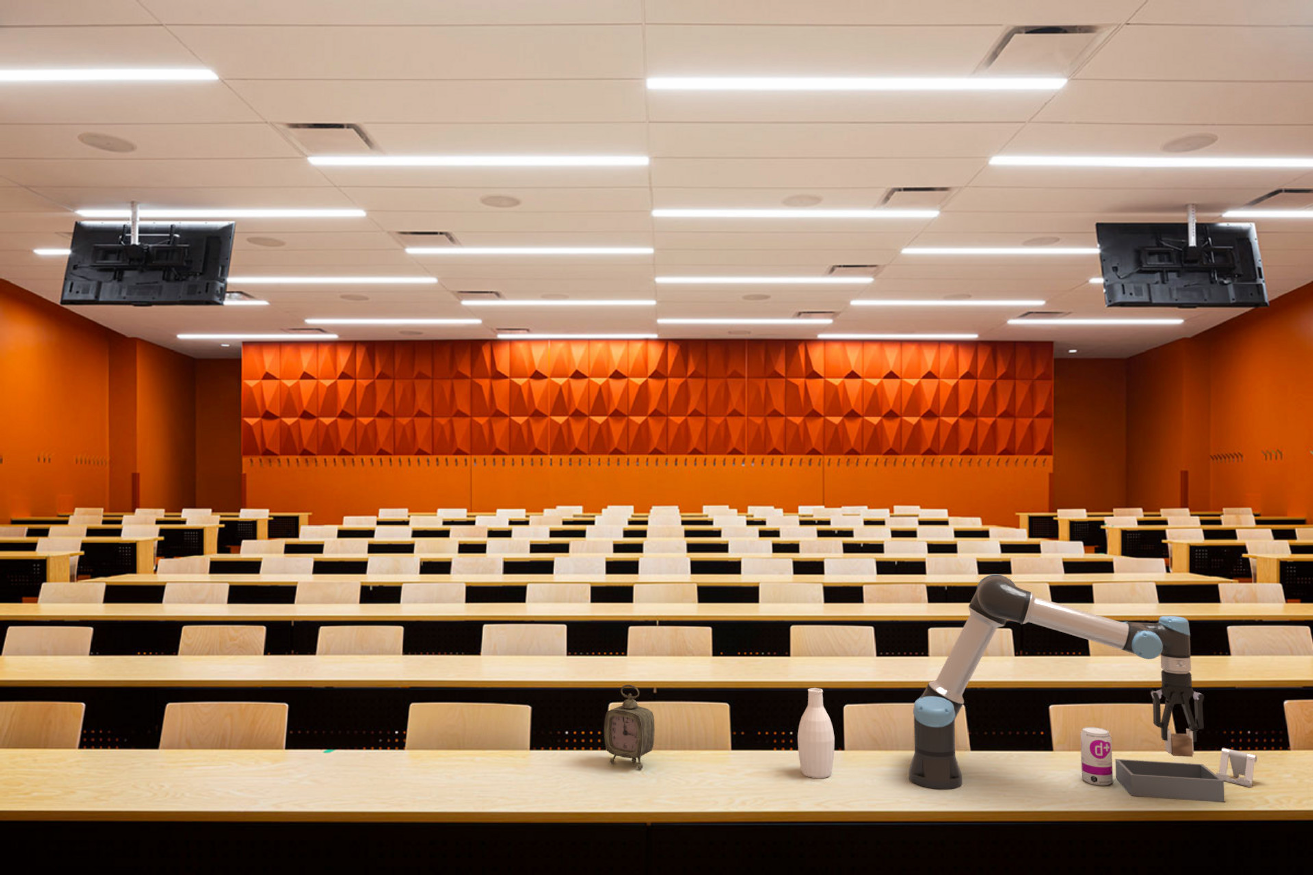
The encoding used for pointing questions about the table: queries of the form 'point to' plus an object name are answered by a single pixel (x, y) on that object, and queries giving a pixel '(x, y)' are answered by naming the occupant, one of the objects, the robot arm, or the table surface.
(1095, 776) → the supplement can
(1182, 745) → the walnut cube
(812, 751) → the bottle
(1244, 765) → the portable electronic device stand
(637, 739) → the tabletop clock
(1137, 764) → the tote
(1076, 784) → the table surface
